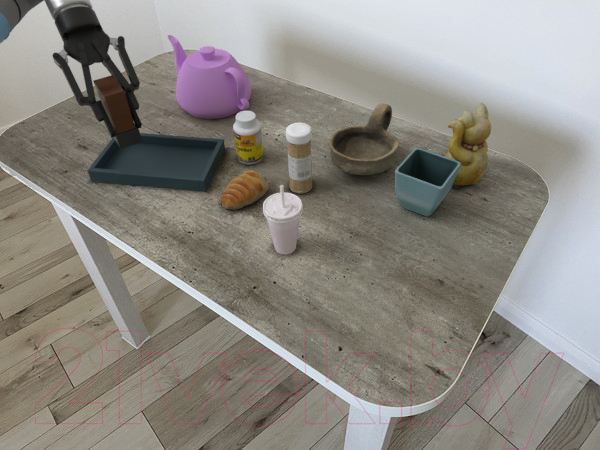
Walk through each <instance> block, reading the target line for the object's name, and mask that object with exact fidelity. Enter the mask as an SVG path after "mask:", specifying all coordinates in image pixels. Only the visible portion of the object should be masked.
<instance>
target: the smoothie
mask: <svg viewBox="0 0 600 450" xmlns="http://www.w3.org/2000/svg"><path fill="white" fill-rule="evenodd" d="M303 211H304V206H303V201H302V199H301V198H300V197H299V196H297V195H296V194H295V193H291V192H285V187H284V184H280V185H279V192H276V193H273V194H270V195H269V196H268V197H267V198H265V200H264V201H263V203H262V213H263V215H264V217H265V218H266V222H267V225H268V228H269V232H270V235H271V239H272V244H273V247H274V250H275V251H276V253H278V254H280V255H285V256H286V255H290V254H292V253H294V252H295V251H296V249H297V243H298V234H299V227H300V220H301V216H302V214H303Z"/></svg>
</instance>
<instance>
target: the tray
mask: <svg viewBox="0 0 600 450" xmlns="http://www.w3.org/2000/svg"><path fill="white" fill-rule="evenodd" d="M140 135H141V138H142V142H139V143H136V144H134V145H131V146H128V147H125V148H122V149H120V147H119V146H118V144H117V143H116V141H115V139H114V138H113V137H112V138H111V139H110V140H109V141H108V143H107V144H106V146H105V147H104V148H103V149H102V150H101V152H100V153H99V154H98V155H97V157H96V158H95V160H94V161H93V162H92V163H91V164H90V166H89V167H88V168H87V174H88V176H89V178H90V180H91V181H90V182H94V183H95V182H96V183H106V184H114V185H127V186H137V187H148V188H158V189H168V190H169V189H170V190H178V191H179V190H181V191H190V192H191V191H192V192H200V193H207V191H208V188H209V186H210V185H211V183H212V180H213V178H214V176H215V174H216V172H217V170H218V167H219V165H220V162H221V161H222V159H223V156H224V154H225V152H226V144H225V139H223V138H211V137H199V136H183V135H172V134H162V133H161V134H159V133H148V132H146V133H145V132H140Z"/></svg>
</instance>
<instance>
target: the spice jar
mask: <svg viewBox="0 0 600 450" xmlns="http://www.w3.org/2000/svg"><path fill="white" fill-rule="evenodd" d="M312 132H313V131H312V127H311V126H310V124H308V123H305V122H294V123H290V124H289V125H288V126H287V127H286V128H285V139H286V142H287V162H288V163H287V164H288V176H289V177H288V178H289V184H288V185H289V189H290V191H291V192H293V193H294V194H300V195H301V194H306V193H309V192H310V191H311V190H312V188H313V182H312V181H313V180H312V172H313V166H312V165H313V164H312V163H313V162H312V161H313V159H312V137H313V133H312Z"/></svg>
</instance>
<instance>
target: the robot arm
mask: <svg viewBox="0 0 600 450" xmlns="http://www.w3.org/2000/svg"><path fill="white" fill-rule="evenodd" d="M42 2H45V5H46V7H47V10H48V11H49V13H50V16H51V18H52V20H54V25H55V27H56V29H57V31H58V34H59V36H60V38H61V40H62V43H63V46H62V50H60V51H59V52H53V53H52V59H53V62H54V63H55V65H56V66H57V67H58V68H59V69H60V70H61V71H62V73H63V76H64V78H65V79H66V82H67V83H68V86H69V88H70V90H71V93H72V94H73V96H74V99H75V100H76V102H77V105H78V106H79V107H84V106H88V107H89V108H91V110H92V112H93V115H94V117H95V119H96V121H97V122H99V123H100V122H103V121H104V122H103V123H104V124H105V127H106V128H107V129H106V130H107V131H108V133H109V135H110V138H111V139H112V138H113V137H115V130H114V128H113V126H112V124H111V122H110V119H109V117H108V115H107V113H106V111H105V109H104V106H103V104H102V102H101V100H100V99H99V100H97V98H96V95H95V89H94V83H93V81H92V80H93V79H92V73H91V69H90V66H92V65H94V64H102V65H103V67H104V68H106V70H107V71H108V73H109V74H110V76H111V75H112V76H113V77H114V79H115V80H116V81H117V82H118V84H119V85H120V86H121V88H122V89H123V90H124V93H125V96H126V99H127V102H128V105H129V109H130V112H131V115H132V118H133V121H134V123H135V125H136V126H137V127H138V129H139V130H140V129H141V128H142V126H143V125H142V124H143V123H142V121H141V118H140V117H139V115H138V113H137V111H138V110H139V109H140V104H139V102H138V99H137V97H136V94H135V91H138V90H139V89H140V83H141V82H140V79H139V77H138V75H137V72H136V70H135V68H134V65H133V62H132V61H131V58H130V57H129V53H128V52H127V49H126V41H125V39H126V38H125V37H124V36H122V35H119V36H118V37H110V36H109V35H108V34H107V33H106V32H105V30H104V28H103V27H102V25H101V22H100V21H99V18H98V16H97V13H96V11H95V9H93V4H92V2H91V0H0V44H2V43H4V42H5V40H7V39H8V38H9V37H10V34H11V32H12V31H13V30H14V29H15V27H16V26H17V25H19V24H20V22H22V20H23V19H24V18H25V16H26V15H27V14H28V13H29V12H31V10H33V9H34V8H35V7H37V6H38V5H39V4H41V3H42ZM110 46H112V47H113V49H114V50H115V51H117V54H118V57H119V59H120V61H121V64H122V66H123V69H124V71H125V73H126V76H127V78H128V80H129V81H128V80H127V78H126V77H125V76H124V74H123V73H122V72H121V70H120V68H118V66H117V65H116V64H115V62H114V61H113V60H112V57H111V56H110V55H109V49H110ZM68 56H69V57H70V58H72V59H73V60H75V61H76V62H77V63H79V64H80V66H81V70H82V74H83V80H84V84H85V85H84V86H85V90H86V94H87V96H85V95H84V94H83V92H82V90H81V88H80V86H79V84H78V81H77V79H76V77H75V76H74V74H73V72H72V70H71V67H70V66H69V59H68ZM129 82H130V83H129Z"/></svg>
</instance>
